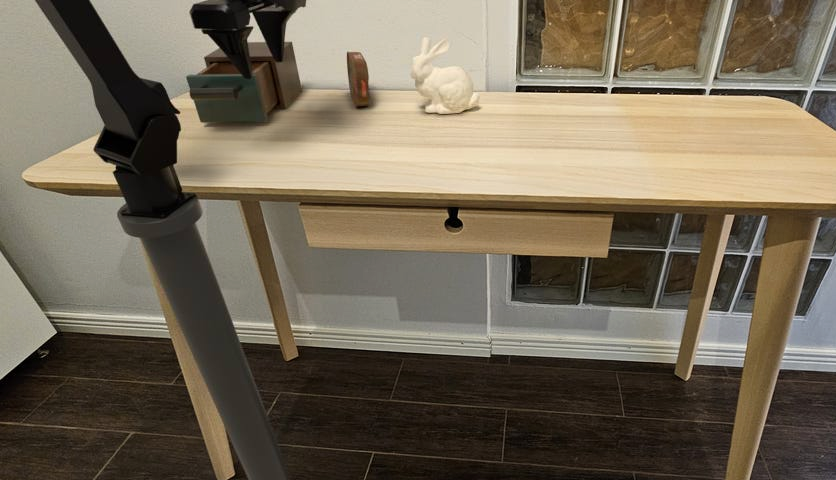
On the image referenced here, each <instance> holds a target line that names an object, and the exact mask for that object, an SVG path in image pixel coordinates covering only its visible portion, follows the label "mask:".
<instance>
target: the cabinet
mask: <svg viewBox="0 0 836 480" xmlns="http://www.w3.org/2000/svg"><path fill="white" fill-rule="evenodd" d="M247 42H248V48H249V54H250V60H251V61H270V62H271V67H272V71H273V75H274V80H275V84H276V88H277V93H278V97H279V102H278V103H277V104H276V105H275V106H274V107H273V108H272V109H271V110H270V111H272V110H287V109H288V108H289V106H290V105H291V104H292V103H293V102H294V101H295V100H296V99H297V98H298V96H299V95H300V94H301V93H302V92H303V88H302V83H301V79H300V74H299V69H298V65H297V60H296V55H295V49H294V45H293V41H285V42H284V56H283V62H276V61H275V60H274V58H273V56H272V54H271V52H270V50H269V48H268V46H267V44H266V42H265V41H247ZM203 60H204V62H205V66H206V67H205V68H207V67H208V66H210V65H211V64H213V63H214V62H231V61H230V60H229V58H228V57H227V56H226V55H225V54H224V52H223V51H222V50H221V49H220V48H219V47H218V48H217V49H215V50H213V51H212V52H210V53H208V54H207V55H205V56H203Z"/></svg>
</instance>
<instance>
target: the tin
mask: <svg viewBox="0 0 836 480" xmlns="http://www.w3.org/2000/svg"><path fill="white" fill-rule="evenodd" d="M346 68H347V69H346V70H347V78H348V87H349V93H350V96H351V99H352V101H353V105H354V106H355V107H356V108H357V107H368V106H369V105H370V103H371V95H370V86H369V80H370V79H369V78H370V77H369V76H370V75H369V68H368V64H367V61H366V59H365V57H364V56H363V54H362V53H361V51H346Z"/></svg>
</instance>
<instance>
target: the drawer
mask: <svg viewBox="0 0 836 480" xmlns="http://www.w3.org/2000/svg"><path fill="white" fill-rule="evenodd" d="M251 66H252V79H245V78H244V77H243V76H242V75H241V74H240V72H239V71H238V70H237V69H236V67H235V66H234V65H233V63H232V62H214V63H213V64H211V65H210V66H208V67H205V68H203V69H201V71H199V72H197V73H196V74H188V75H186V76H185V78H186V81H187V84H188V87H189V97H190V99H191V100H192V101H193V104H194V107H195V110H196V112H197V115H198V119H199V122H200V123H261V122H263V123H265V122H267V121H268V120H269V117H268V114H269V113H270V111H272V110H271V109H272V108H273V107H274V106H275V105H276V104H277V103H278V102H279V97H278V93H277V88H276V84H275V80H274V75H273V71H272V67H271V62H270V61H251Z"/></svg>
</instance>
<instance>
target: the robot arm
mask: <svg viewBox="0 0 836 480" xmlns="http://www.w3.org/2000/svg"><path fill="white" fill-rule="evenodd" d="M34 1H35V3H36V4H37V6H38V8H39V9H40V11H41V12H42V13H43V15H44V16H45V18H46V19H47V20H48V22H49V24H50V25H51V27H52V28H53V29H54V31H55V32H56V34H57V35H58V37H59V38H60V39H61V41H62V43H63V44H64V46H65V47H66V48H67V51H69V53H70V54H71V56H72V58H73V59H74V60H75V61H76V63H77V64H78V66H79V67H80V69H81V70H82V72H83V74H84V75H85V76H86V78H87V79H88V81H89V83H90V85H91V89H92V94H93V99H94V100H93V101H94V105H95V107H96V110H97V112H98V114H99V116H100V119H101V120H102V122H103V128H102V130H101V132H100V134H99V136H98V138H97V140H96V142H95V144H94V147H93V152H94V153H95V154H96V155H97V156H98V157H99V158H100V159H101V161H103V162H104V163H106V164H111V165H114V166H115V169H114V170H113V171H112V175H113V177H114V179H115V181H116V183H117V186H118V188H119V190H120V193H121V195H122V197H123V199H124V201H125V203H126V204H127V207H126V208H124V209H123V210H121V211H120V214H121V215H122V216H133V217H145V218H157V219H164V218H167V217H168V216H169V215H171V214H172V213H173V212H175V211H176V210H177V209H178V208H180V207H181V206H182V205H184V204H185V203H186V202H188V201H189V200H190V199H192V198H193V194H192V193H193V192H183V188H182V185H181V182H180V179H179V177H178V174H177V172H176V169H175V166H174V165H177V163H178V141H179V140H178V139H179V136H180V133H181V131H182V126H181V122H180V120H179V118H178V116H177V115H180V114H181V111H180V110H179V109H177V108H176V106H175V104H173V103H172V101H171V99H170V97H169V94H168V91H167V89H166V88H165V85H164V84H163V83H162V82H160V81H155V80H151V79H148V78H143V77H140V76H139V75H137V73H136V72H135V71H134V70H133V68H132V67H131V65H130V64H129V61H127V59H126V57H125V55H124V53H123V52H122V50H121V48H120V47H119V46H118V44H117V42H116V41H115V38H114V37H113V36H112V34H111V32H110V31H109V29H108V28H107V26H106V24H105V22H104V21H103V19H102V18H101V16H100V15H99V13H98V11H97V10H96V8H95V6H94V4H93V3H92V1H91V0H34ZM192 4H193V5H192V6H191V8H190V10H189V12H188V13H189V16H190V20H191V23H192V26H193V29H195V30H201V32H202V34H203V35H207V36H208V37H209V38H210V39H211V40H212V41H213V42H214V43H215V45H216V46H217V47H218V48H220V49H221V50H222V51H223V52H224V54H225V55H226V56H227V57H228V58H229V60H230V61H231V62H232V63H233V65H234V66H235V67H236V69H237V70H238V71H239V72H240V74H241V75H242V76H243V77H244V78H245V79H252V66H251V60H250V54H249V48H248V42H249V41H248V38H249V37H250V35H251V33H252V31H253V29H254V26H249V25H250V23H251V22H250V21H251V14H252V17H253V18H254V20H255V22H256V24H257V27H258V29H259V31H260V33H261V36H262V37H263V39H264V42H266V44H267V46H268V48H269V50H270V52H271V54H272V56H273V58H274V60H275V61H276V62H283V56H284V42H286V30H287V23H288V21H289V20H290V19H291V18H292V16H293V15H294V14H295V13H297V11H298V9H300V8H306V6H307V0H203V1H200V2H196V3H192Z"/></svg>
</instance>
